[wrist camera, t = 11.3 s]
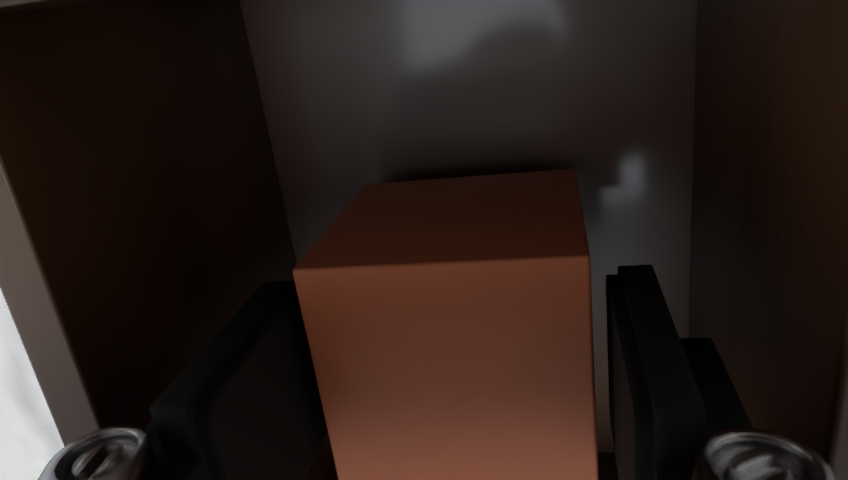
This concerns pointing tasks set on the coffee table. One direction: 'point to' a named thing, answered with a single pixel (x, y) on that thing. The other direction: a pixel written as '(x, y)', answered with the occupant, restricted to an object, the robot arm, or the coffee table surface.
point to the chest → (422, 172)
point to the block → (456, 330)
